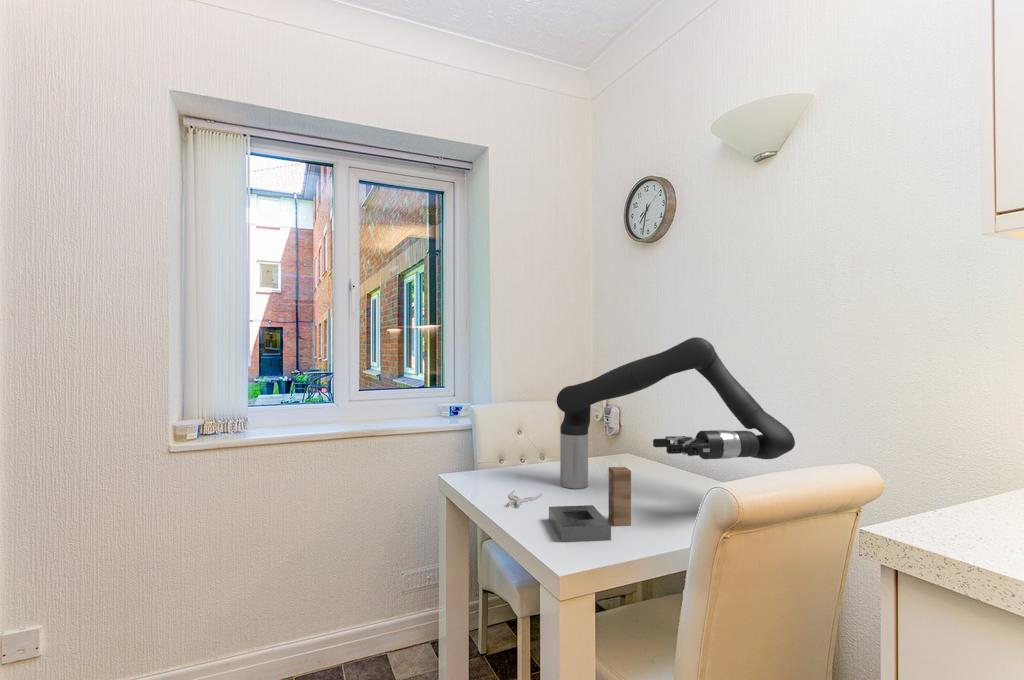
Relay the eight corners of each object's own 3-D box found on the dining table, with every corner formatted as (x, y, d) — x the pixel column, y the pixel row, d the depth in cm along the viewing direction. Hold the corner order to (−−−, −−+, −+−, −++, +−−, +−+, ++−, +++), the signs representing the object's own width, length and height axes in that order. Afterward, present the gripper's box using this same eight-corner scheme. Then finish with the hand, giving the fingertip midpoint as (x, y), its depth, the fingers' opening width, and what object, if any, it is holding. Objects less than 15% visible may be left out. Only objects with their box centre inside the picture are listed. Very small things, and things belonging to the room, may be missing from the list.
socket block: (548, 520, 128) (548, 506, 128) (592, 518, 130) (592, 505, 130) (561, 542, 113) (561, 527, 114) (611, 540, 115) (611, 525, 115)
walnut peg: (608, 520, 129) (608, 467, 129) (624, 519, 129) (624, 466, 129) (614, 526, 124) (614, 471, 124) (631, 525, 125) (631, 470, 125)
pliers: (542, 490, 151) (529, 505, 137) (542, 495, 151) (529, 510, 137) (512, 487, 154) (496, 501, 140) (512, 492, 154) (496, 507, 140)
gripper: (704, 426, 137) (649, 427, 135) (732, 434, 123) (671, 436, 121) (704, 453, 137) (649, 454, 135) (733, 464, 123) (672, 466, 121)
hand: (660, 446), depth 128 cm, fingers open, 8 cm apart
